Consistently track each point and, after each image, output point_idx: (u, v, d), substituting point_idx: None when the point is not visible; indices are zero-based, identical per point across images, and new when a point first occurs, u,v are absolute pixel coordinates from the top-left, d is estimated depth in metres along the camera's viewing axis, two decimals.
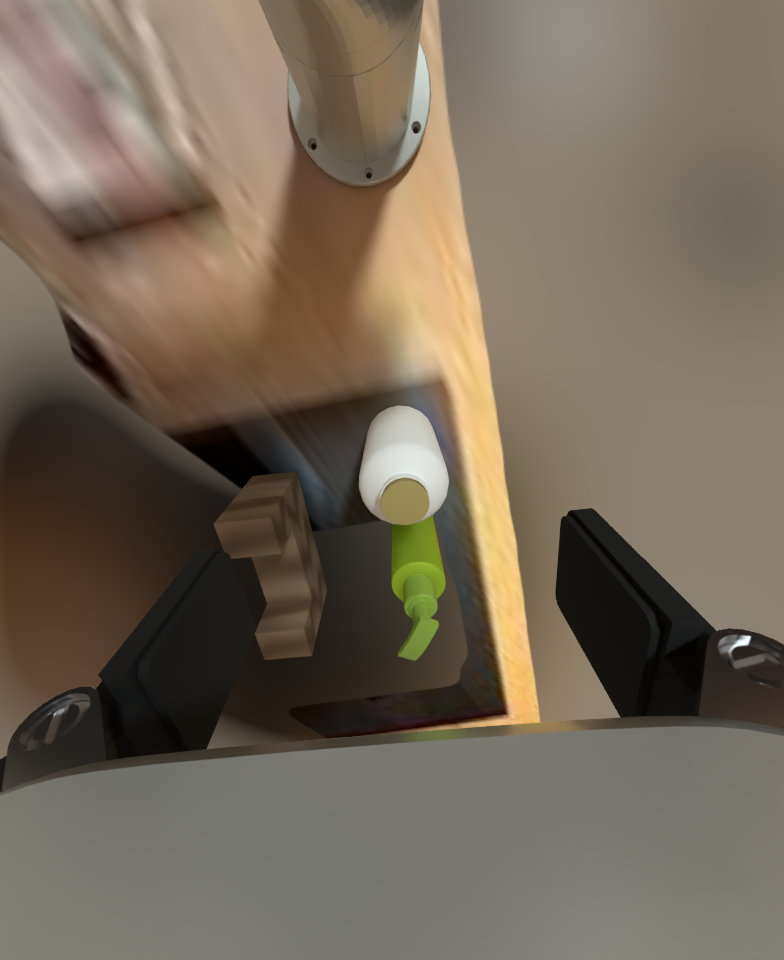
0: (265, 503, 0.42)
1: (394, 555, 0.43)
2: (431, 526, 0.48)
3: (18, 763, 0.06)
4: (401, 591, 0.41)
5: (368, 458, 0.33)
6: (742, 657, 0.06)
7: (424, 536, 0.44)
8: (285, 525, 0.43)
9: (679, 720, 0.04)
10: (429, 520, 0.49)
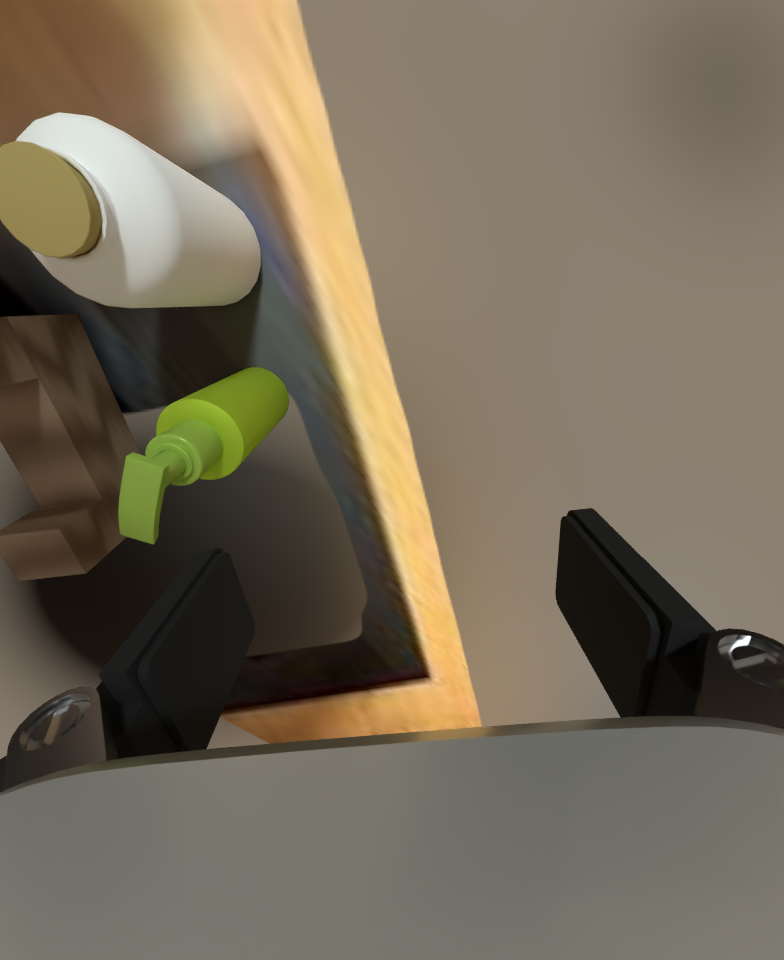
0: None
1: None
2: (264, 386, 0.33)
3: (18, 763, 0.06)
4: None
5: None
6: (742, 657, 0.06)
7: (234, 385, 0.29)
8: (7, 361, 0.28)
9: (679, 720, 0.04)
10: (267, 382, 0.34)
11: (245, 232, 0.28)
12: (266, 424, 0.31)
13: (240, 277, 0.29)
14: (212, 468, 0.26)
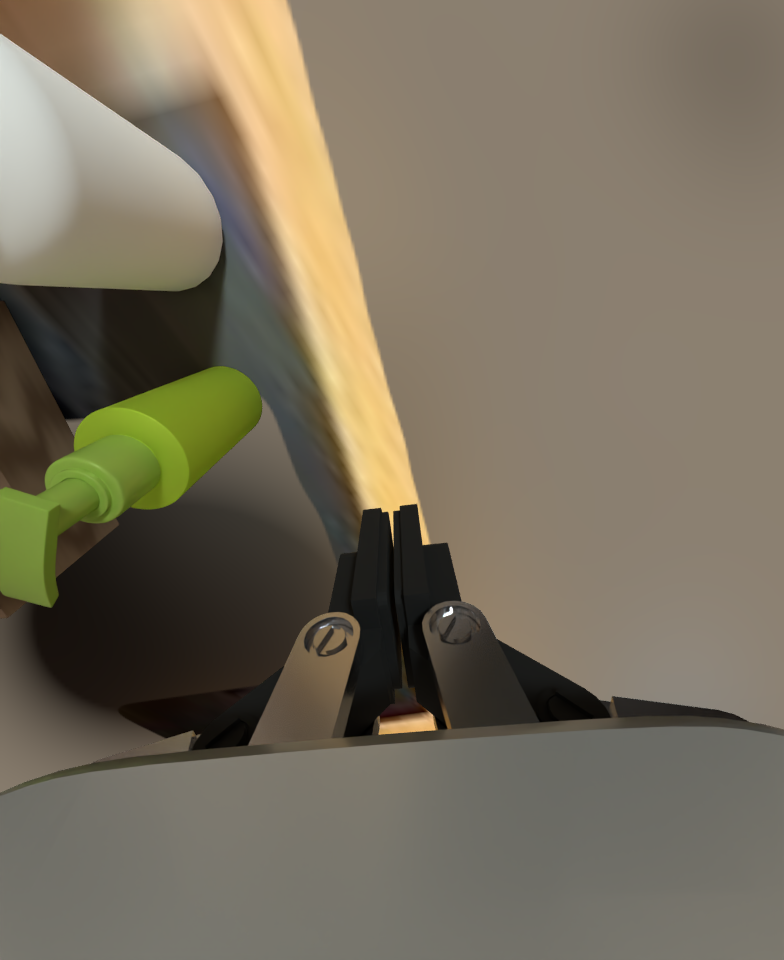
0: None
1: None
2: (227, 389, 0.27)
3: (320, 665, 0.07)
4: None
5: None
6: (445, 628, 0.07)
7: (185, 389, 0.23)
8: None
9: (679, 720, 0.04)
10: (232, 384, 0.28)
11: (197, 196, 0.23)
12: (227, 436, 0.25)
13: (191, 253, 0.23)
14: (149, 496, 0.21)
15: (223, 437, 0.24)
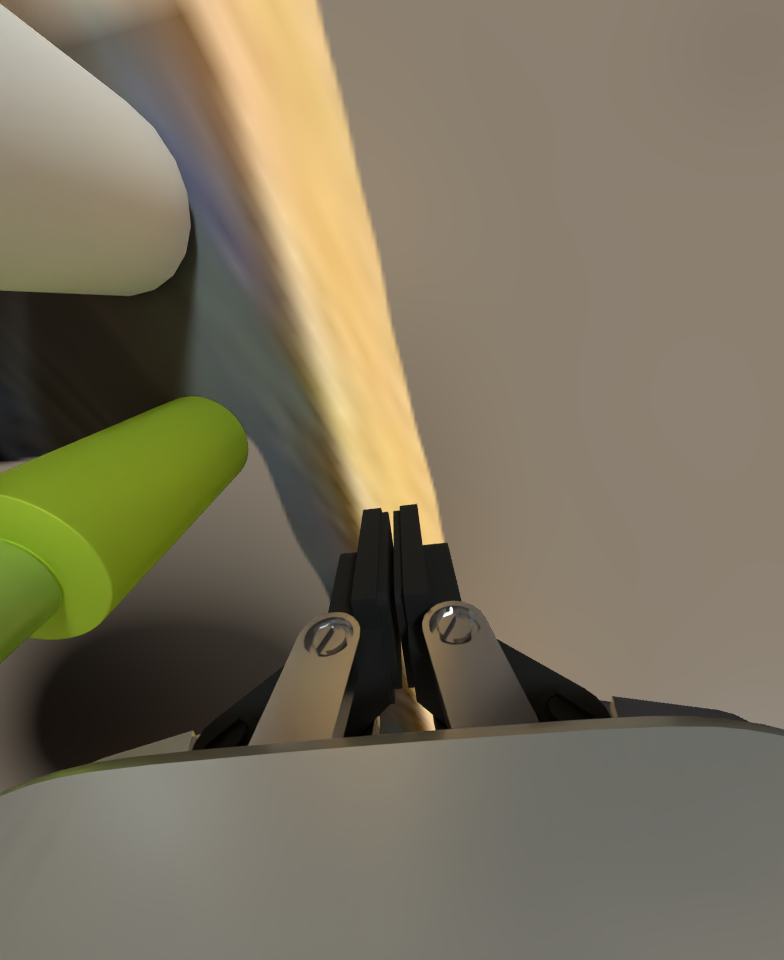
0: None
1: None
2: (195, 433, 0.19)
3: (320, 665, 0.07)
4: None
5: None
6: (445, 628, 0.07)
7: (123, 442, 0.16)
8: None
9: (679, 720, 0.04)
10: (204, 424, 0.20)
11: (145, 154, 0.15)
12: (190, 506, 0.17)
13: (135, 239, 0.15)
14: (48, 624, 0.13)
15: (182, 510, 0.17)
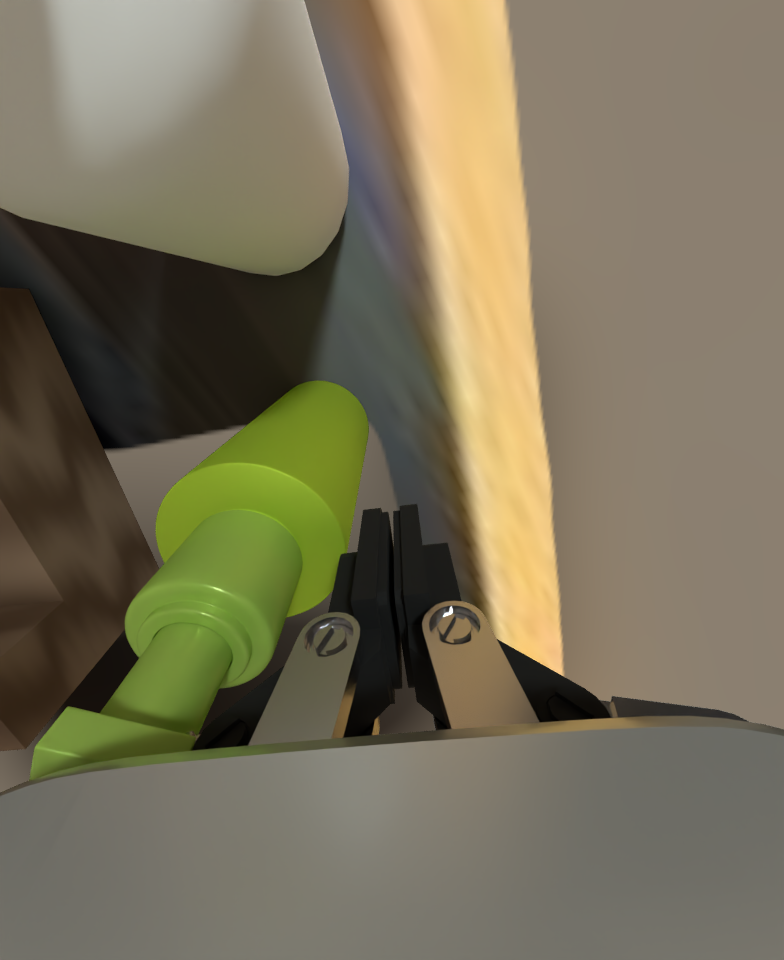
0: None
1: None
2: (347, 416, 0.19)
3: (320, 665, 0.07)
4: None
5: None
6: (445, 628, 0.07)
7: (308, 420, 0.15)
8: None
9: (679, 720, 0.04)
10: (347, 407, 0.20)
11: (337, 124, 0.15)
12: (358, 488, 0.17)
13: (325, 212, 0.15)
14: None
15: (357, 491, 0.16)
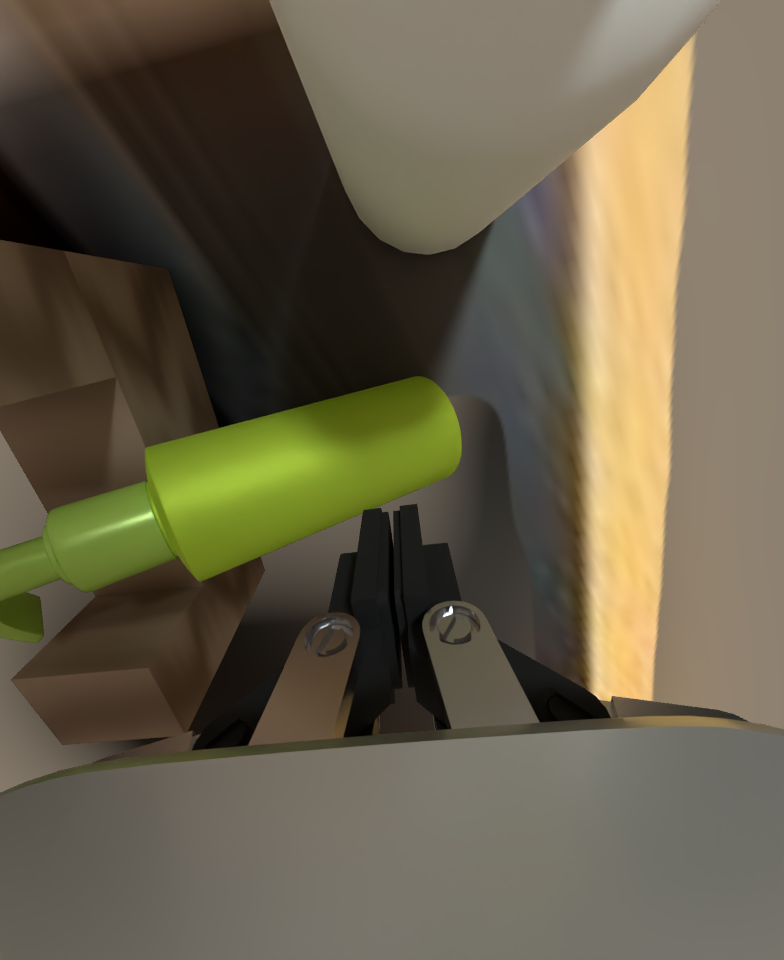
0: None
1: None
2: (374, 432, 0.17)
3: (320, 665, 0.07)
4: None
5: None
6: (445, 628, 0.07)
7: (285, 429, 0.15)
8: (65, 341, 0.13)
9: (679, 720, 0.04)
10: (396, 421, 0.17)
11: None
12: (324, 510, 0.16)
13: None
14: None
15: (308, 513, 0.16)
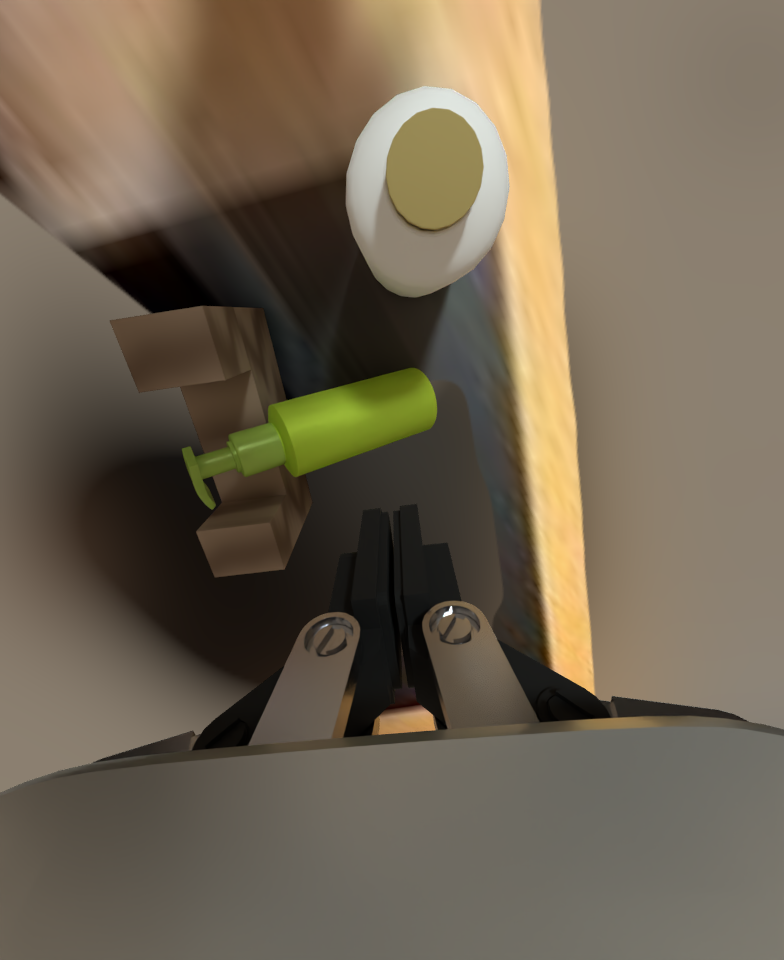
0: None
1: None
2: (387, 397, 0.30)
3: (320, 665, 0.07)
4: None
5: (362, 133, 0.18)
6: (445, 628, 0.07)
7: (340, 395, 0.29)
8: (236, 351, 0.27)
9: (679, 720, 0.04)
10: (398, 391, 0.31)
11: None
12: (361, 439, 0.30)
13: None
14: (287, 466, 0.30)
15: (353, 439, 0.29)
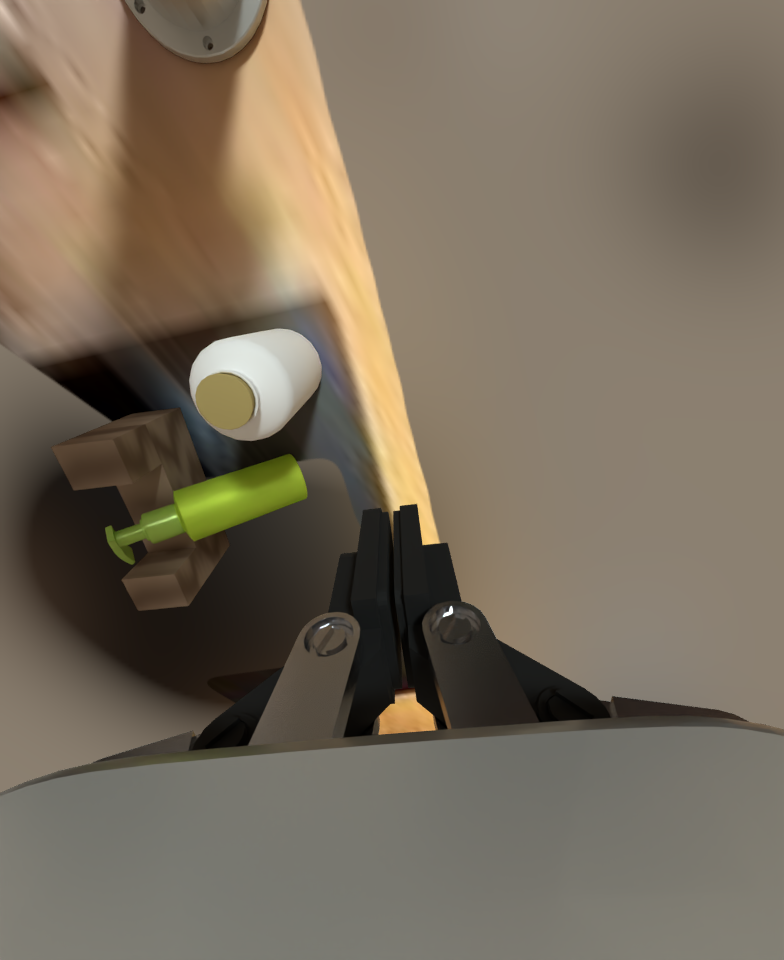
0: (120, 430, 0.38)
1: None
2: (262, 483, 0.42)
3: (320, 665, 0.07)
4: None
5: None
6: (445, 628, 0.07)
7: (225, 483, 0.41)
8: (146, 456, 0.39)
9: (679, 720, 0.04)
10: (273, 477, 0.42)
11: (315, 363, 0.40)
12: (242, 514, 0.41)
13: (311, 394, 0.40)
14: None
15: (235, 515, 0.41)
